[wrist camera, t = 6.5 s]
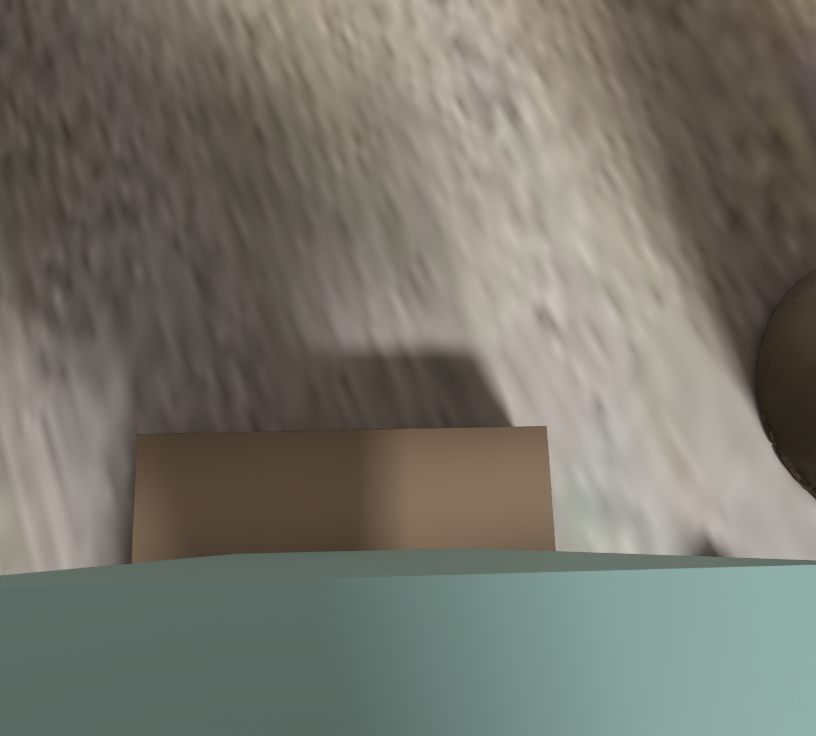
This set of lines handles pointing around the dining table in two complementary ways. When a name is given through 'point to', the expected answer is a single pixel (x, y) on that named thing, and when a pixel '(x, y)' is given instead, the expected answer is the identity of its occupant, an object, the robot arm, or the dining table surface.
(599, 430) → the dining table surface
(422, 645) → the pillar
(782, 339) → the pillar candle
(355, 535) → the walnut base
